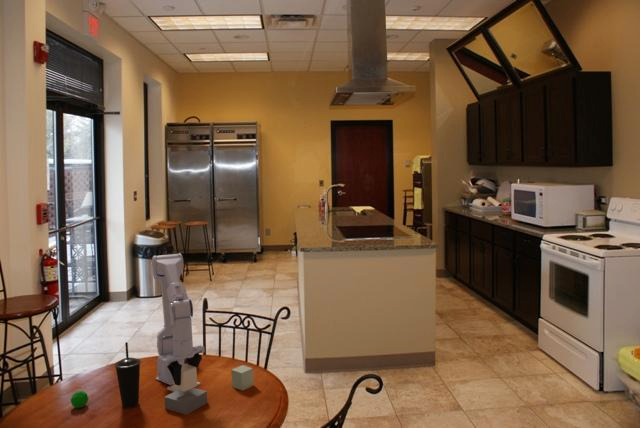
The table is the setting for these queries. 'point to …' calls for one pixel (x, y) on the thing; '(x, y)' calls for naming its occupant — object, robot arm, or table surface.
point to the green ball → (79, 399)
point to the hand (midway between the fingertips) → (185, 381)
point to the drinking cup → (128, 380)
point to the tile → (176, 389)
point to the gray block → (185, 400)
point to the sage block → (242, 377)
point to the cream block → (187, 378)
